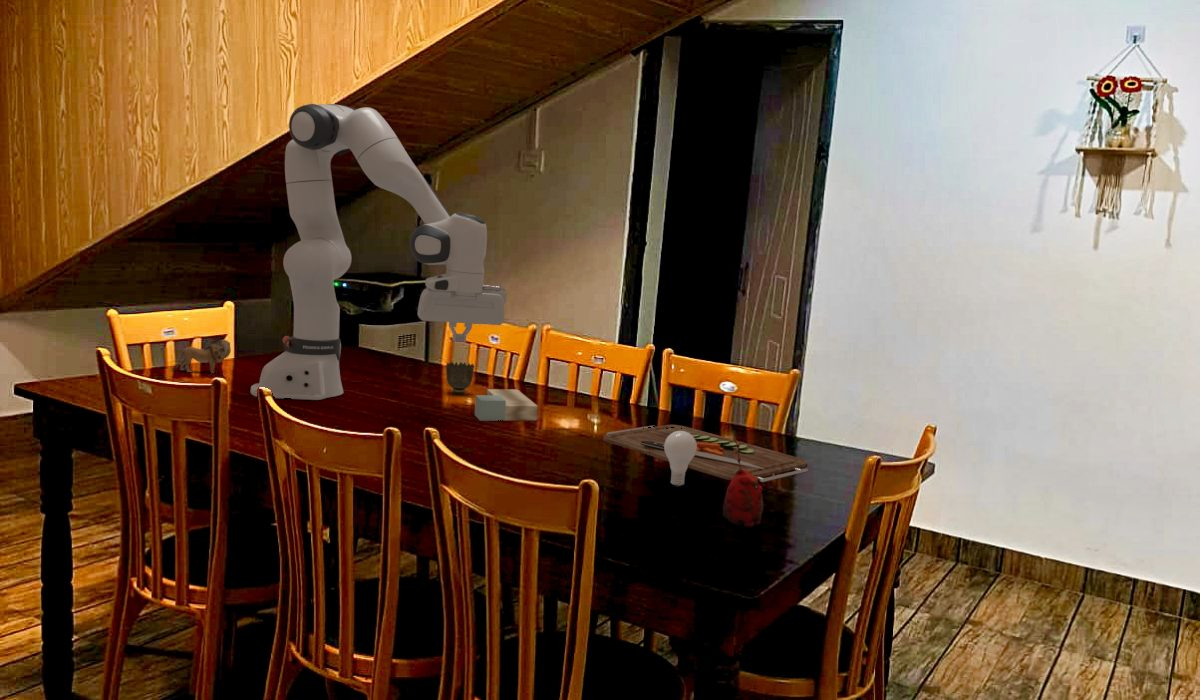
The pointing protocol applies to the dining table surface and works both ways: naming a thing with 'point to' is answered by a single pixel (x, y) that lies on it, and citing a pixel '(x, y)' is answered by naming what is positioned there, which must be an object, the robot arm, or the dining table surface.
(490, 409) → the block
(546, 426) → the dining table surface
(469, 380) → the cup
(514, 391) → the board
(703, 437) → the chopping board
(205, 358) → the lion figurine
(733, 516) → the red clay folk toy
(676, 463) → the lightbulb
